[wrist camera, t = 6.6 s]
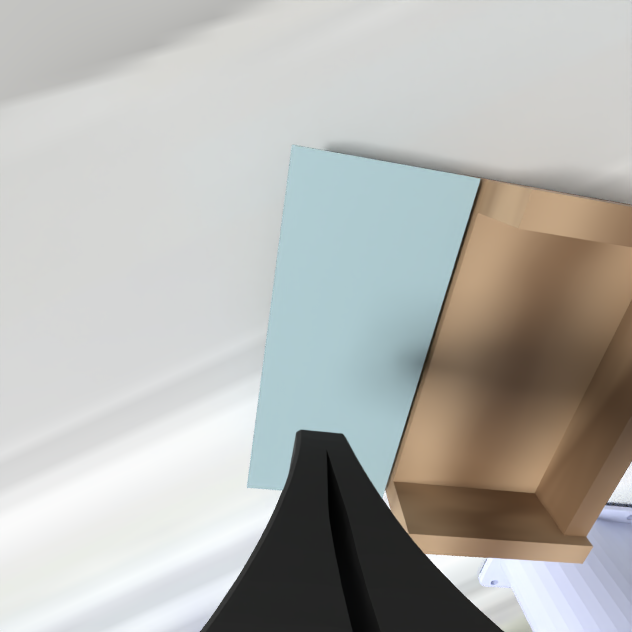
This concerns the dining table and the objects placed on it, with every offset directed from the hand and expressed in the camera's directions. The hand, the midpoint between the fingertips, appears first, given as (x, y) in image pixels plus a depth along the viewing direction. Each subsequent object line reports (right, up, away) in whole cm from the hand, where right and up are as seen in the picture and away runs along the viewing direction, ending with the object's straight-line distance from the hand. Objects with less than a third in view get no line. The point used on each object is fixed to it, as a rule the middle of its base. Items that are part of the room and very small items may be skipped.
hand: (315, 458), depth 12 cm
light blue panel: (+5, +2, +6) cm, 8 cm away
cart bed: (+9, +2, +10) cm, 14 cm away
